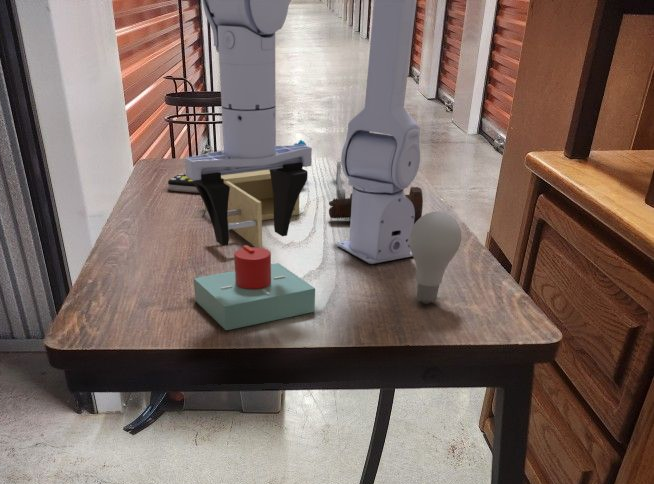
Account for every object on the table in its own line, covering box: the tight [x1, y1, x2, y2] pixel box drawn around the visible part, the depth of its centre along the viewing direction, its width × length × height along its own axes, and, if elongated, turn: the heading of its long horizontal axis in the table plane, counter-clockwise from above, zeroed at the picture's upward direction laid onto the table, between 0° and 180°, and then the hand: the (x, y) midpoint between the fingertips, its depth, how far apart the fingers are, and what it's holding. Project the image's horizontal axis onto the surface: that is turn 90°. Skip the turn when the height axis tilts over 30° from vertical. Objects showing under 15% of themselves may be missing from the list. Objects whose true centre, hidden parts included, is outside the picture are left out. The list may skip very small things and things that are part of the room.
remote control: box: [167, 173, 199, 194], centre depth 126 cm, size 6×13×2 cm, turn 73°
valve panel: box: [193, 262, 316, 331], centre depth 82 cm, size 10×12×3 cm
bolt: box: [328, 186, 424, 224], centre depth 109 cm, size 6×5×15 cm
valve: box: [233, 244, 272, 289], centre depth 80 cm, size 4×4×4 cm
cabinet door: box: [204, 181, 263, 248], centre depth 101 cm, size 6×13×7 cm, turn 25°
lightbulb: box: [409, 210, 462, 304], centre depth 81 cm, size 6×6×11 cm
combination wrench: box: [335, 161, 346, 199], centre depth 124 cm, size 4×1×20 cm
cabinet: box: [204, 170, 300, 221], centre depth 113 cm, size 10×14×7 cm
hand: (252, 238), depth 78 cm, fingers open, 7 cm apart
